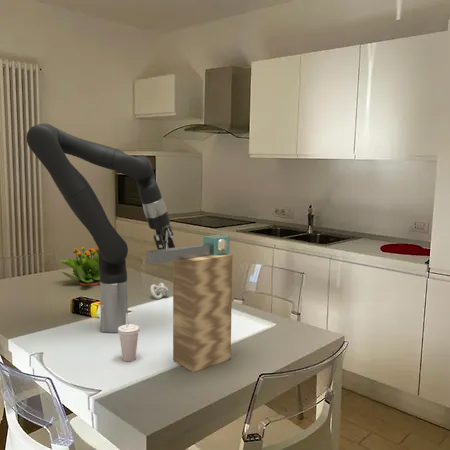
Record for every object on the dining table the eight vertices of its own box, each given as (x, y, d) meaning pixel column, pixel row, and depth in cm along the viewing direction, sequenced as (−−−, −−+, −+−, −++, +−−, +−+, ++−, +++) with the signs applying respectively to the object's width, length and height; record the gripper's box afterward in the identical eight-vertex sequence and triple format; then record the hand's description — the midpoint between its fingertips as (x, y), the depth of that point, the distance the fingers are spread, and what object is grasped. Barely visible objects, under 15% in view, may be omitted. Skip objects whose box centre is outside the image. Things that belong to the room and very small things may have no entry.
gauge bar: (155, 265, 124) (155, 246, 123) (144, 261, 128) (144, 243, 127) (230, 253, 141) (230, 236, 140) (218, 250, 145) (218, 234, 144)
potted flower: (106, 291, 212) (105, 253, 210) (53, 290, 213) (52, 252, 210) (119, 278, 237) (119, 243, 235) (72, 277, 237) (71, 242, 235)
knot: (171, 295, 209) (171, 282, 208) (166, 300, 201) (166, 287, 200) (155, 294, 210) (154, 281, 209) (149, 299, 202) (148, 286, 201)
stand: (193, 372, 134) (194, 261, 130) (173, 360, 142) (173, 255, 137) (230, 359, 143) (232, 255, 139) (209, 348, 151) (210, 249, 146)
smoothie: (119, 354, 145) (119, 310, 143) (140, 354, 146) (140, 310, 144) (116, 363, 139) (116, 317, 137) (138, 363, 140) (138, 317, 138)
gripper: (150, 208, 171) (164, 248, 176) (140, 222, 157) (155, 265, 163) (170, 203, 169) (183, 244, 175) (161, 217, 156) (176, 261, 161)
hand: (170, 254), depth 169 cm, fingers open, 8 cm apart
